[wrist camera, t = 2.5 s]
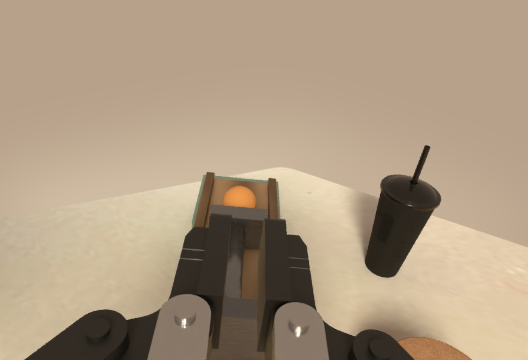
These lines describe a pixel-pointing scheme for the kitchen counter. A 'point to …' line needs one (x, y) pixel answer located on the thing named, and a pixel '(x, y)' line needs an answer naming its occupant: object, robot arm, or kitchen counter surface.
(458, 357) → the lidded jar
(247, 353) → the plunger
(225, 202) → the ball
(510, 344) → the kitchen counter surface
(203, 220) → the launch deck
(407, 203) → the drinking cup
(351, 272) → the kitchen counter surface
